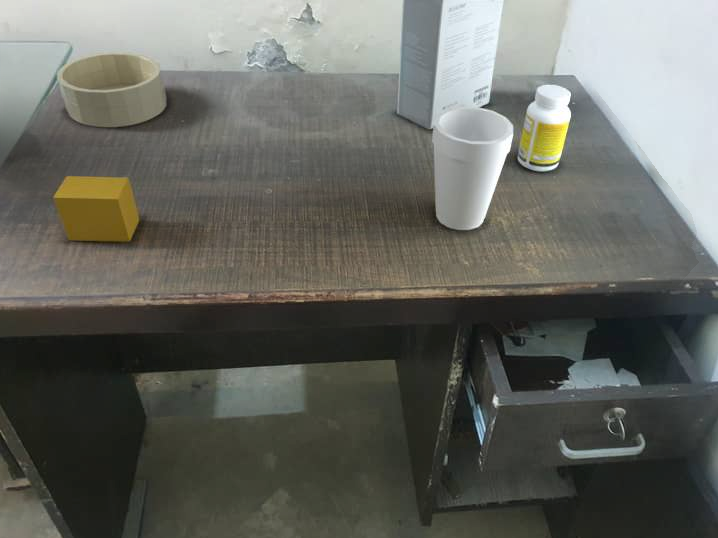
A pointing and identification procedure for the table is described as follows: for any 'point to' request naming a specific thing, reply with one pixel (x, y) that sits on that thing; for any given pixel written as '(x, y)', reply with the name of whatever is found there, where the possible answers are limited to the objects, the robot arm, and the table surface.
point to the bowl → (112, 89)
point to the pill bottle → (545, 128)
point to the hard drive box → (446, 56)
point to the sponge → (97, 208)
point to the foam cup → (468, 163)
